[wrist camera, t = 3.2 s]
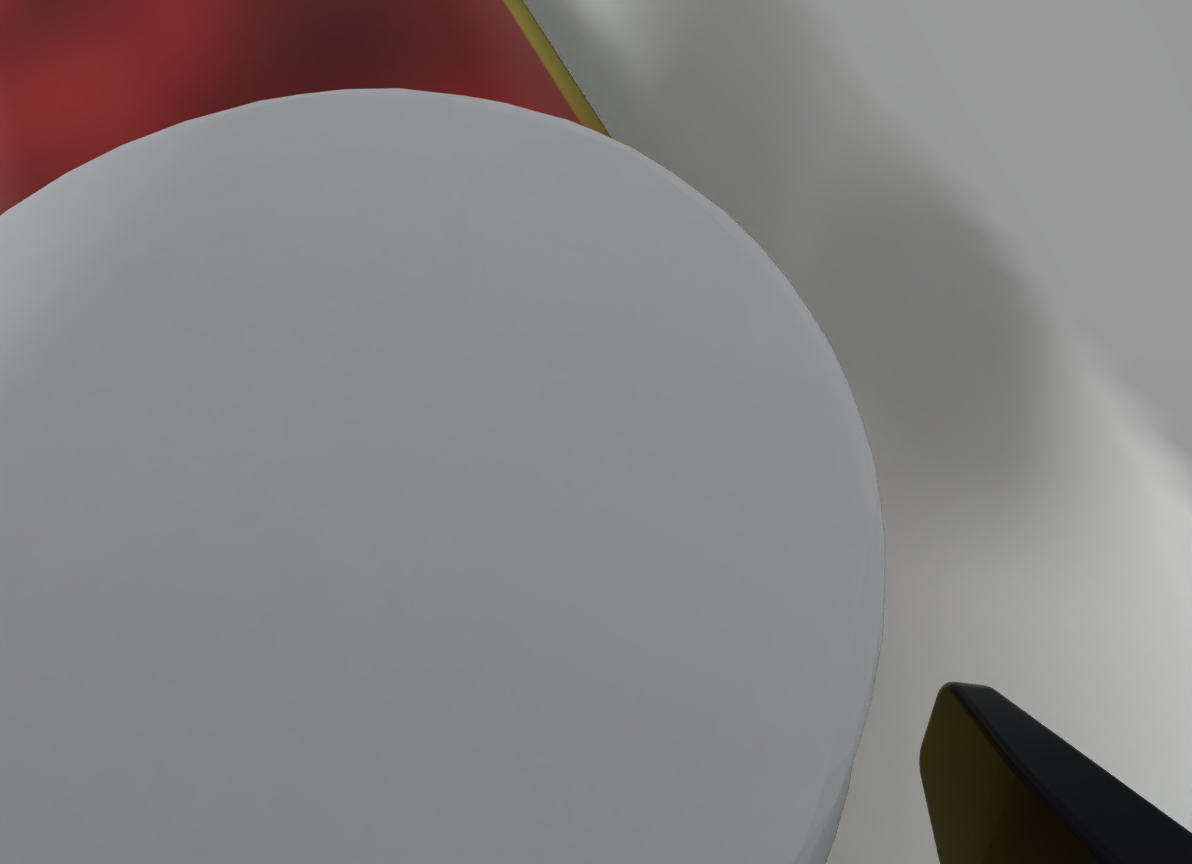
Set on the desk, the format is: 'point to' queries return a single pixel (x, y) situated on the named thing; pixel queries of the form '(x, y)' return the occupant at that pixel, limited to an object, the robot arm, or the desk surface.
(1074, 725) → the desk surface
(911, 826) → the desk surface
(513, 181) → the supplement bottle
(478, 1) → the hardcover book
